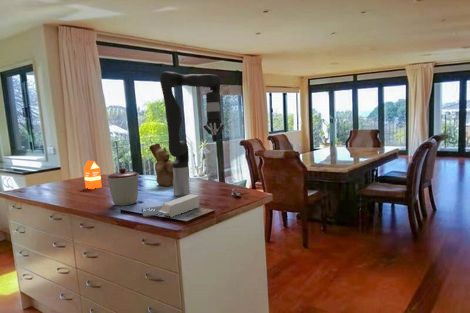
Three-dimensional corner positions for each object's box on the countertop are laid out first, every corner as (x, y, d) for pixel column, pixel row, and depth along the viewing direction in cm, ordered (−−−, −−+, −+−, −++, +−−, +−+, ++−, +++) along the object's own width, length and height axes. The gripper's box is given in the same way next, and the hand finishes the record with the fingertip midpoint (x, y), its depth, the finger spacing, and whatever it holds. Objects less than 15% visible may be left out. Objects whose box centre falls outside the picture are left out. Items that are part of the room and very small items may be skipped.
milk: (191, 193, 186) (157, 204, 170) (199, 195, 182) (165, 207, 166) (191, 204, 187) (158, 216, 171) (199, 206, 184) (166, 219, 167)
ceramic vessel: (168, 187, 245) (165, 144, 241) (146, 185, 256) (142, 144, 253) (183, 183, 258) (180, 142, 254) (162, 181, 270) (158, 142, 266)
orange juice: (95, 186, 265) (92, 160, 263) (101, 187, 260) (99, 160, 258) (85, 188, 259) (82, 161, 257) (92, 189, 254) (89, 161, 252)
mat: (143, 217, 173) (143, 216, 173) (141, 209, 188) (141, 208, 188) (189, 211, 179) (189, 209, 179) (184, 204, 194) (184, 203, 194)
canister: (116, 200, 213) (112, 166, 210) (145, 199, 212) (142, 164, 210) (104, 208, 195) (100, 171, 192) (136, 207, 194) (132, 169, 192)
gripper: (199, 111, 195) (201, 142, 198) (221, 110, 191) (223, 141, 193) (205, 111, 202) (207, 141, 204) (226, 110, 198) (228, 140, 200)
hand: (215, 141), depth 199 cm, fingers closed
